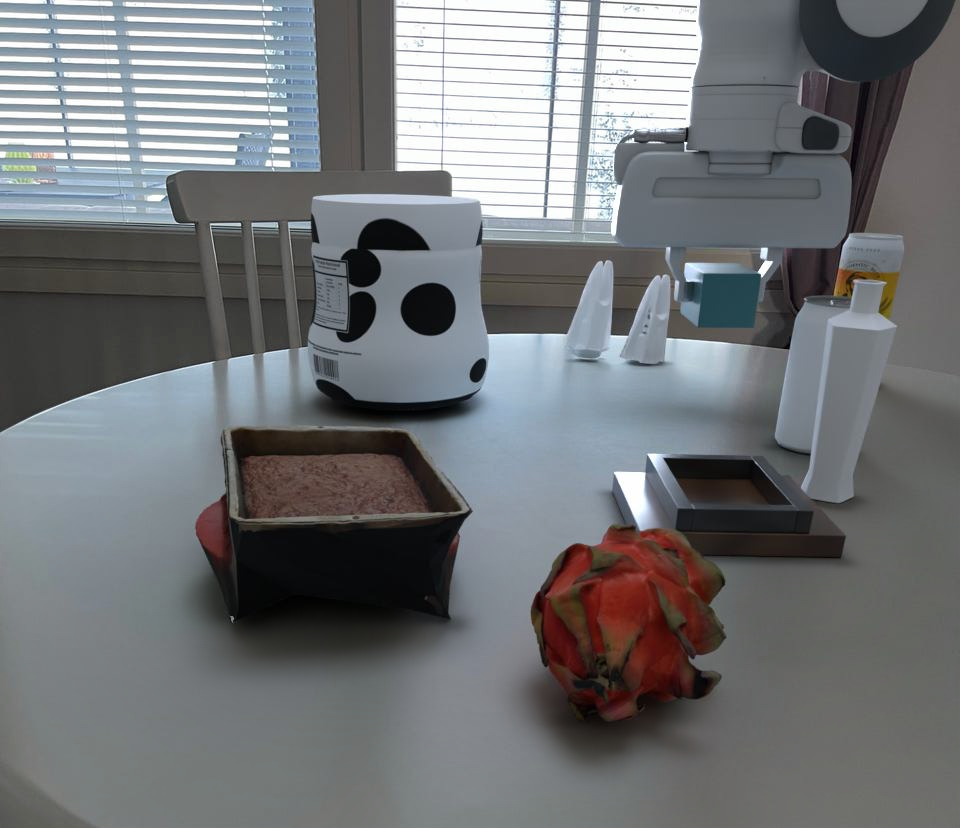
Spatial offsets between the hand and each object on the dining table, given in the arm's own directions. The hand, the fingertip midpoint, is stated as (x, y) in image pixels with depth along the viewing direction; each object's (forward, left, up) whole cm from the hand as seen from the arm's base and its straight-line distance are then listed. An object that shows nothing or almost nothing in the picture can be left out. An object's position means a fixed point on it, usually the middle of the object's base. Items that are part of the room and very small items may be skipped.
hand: (718, 301), depth 85 cm
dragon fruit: (+15, +52, -11) cm, 55 cm away
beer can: (-20, -16, -11) cm, 27 cm away
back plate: (+5, +29, -10) cm, 31 cm away
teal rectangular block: (0, 0, -2) cm, 2 cm away
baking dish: (+30, +40, -11) cm, 51 cm away
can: (-7, +10, -11) cm, 16 cm away
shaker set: (+5, -24, -11) cm, 27 cm away
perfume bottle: (-4, +23, -11) cm, 26 cm away
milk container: (+29, -3, -11) cm, 31 cm away
